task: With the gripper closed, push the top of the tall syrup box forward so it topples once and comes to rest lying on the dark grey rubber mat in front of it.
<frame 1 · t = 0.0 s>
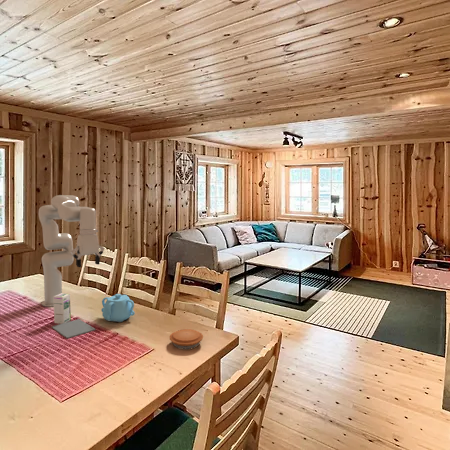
hand: (88, 265, 170), 31 cm above the table, tool pointing down, fingers open, 9 cm apart
syrup box: (62, 322, 176), on the table
mat: (73, 328, 167), on the table
decorative pot: (118, 318, 183), on the table
pie: (186, 344, 155), on the table
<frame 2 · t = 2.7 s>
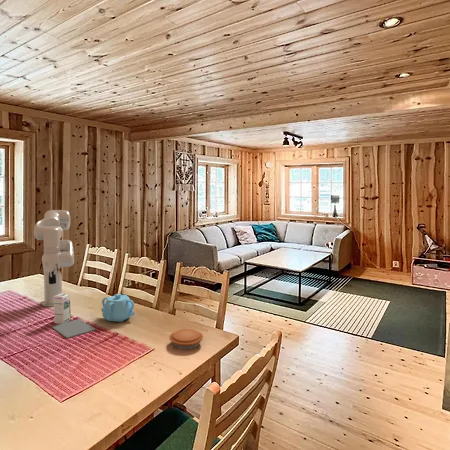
hand: (52, 283, 182), 18 cm above the table, tool pointing down, fingers closed
nothing on the table moved.
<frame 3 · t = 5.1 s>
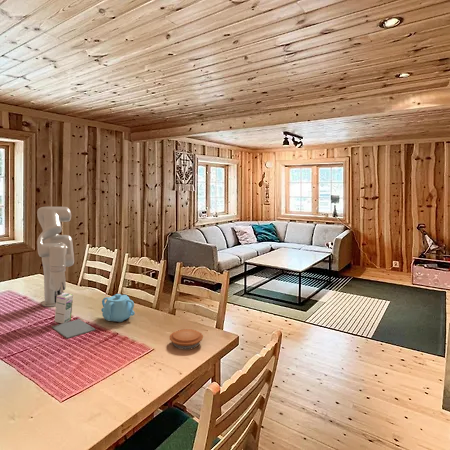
hand: (58, 302, 178), 9 cm above the table, tool pointing down, fingers closed
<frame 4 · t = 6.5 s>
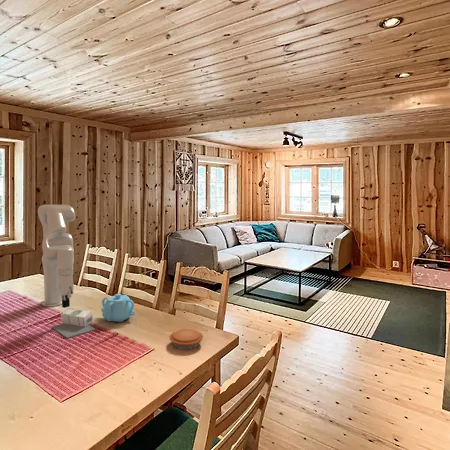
hand: (65, 306, 172), 9 cm above the table, tool pointing down, fingers closed
syrup box: (64, 315, 174), point 4 cm above the table, touching mat
everything else where it was.
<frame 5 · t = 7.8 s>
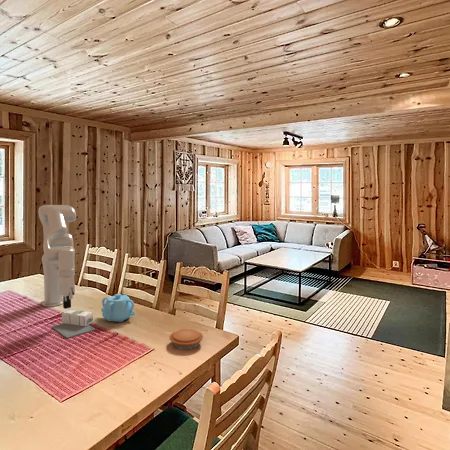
hand: (67, 307, 171), 9 cm above the table, tool pointing down, fingers closed
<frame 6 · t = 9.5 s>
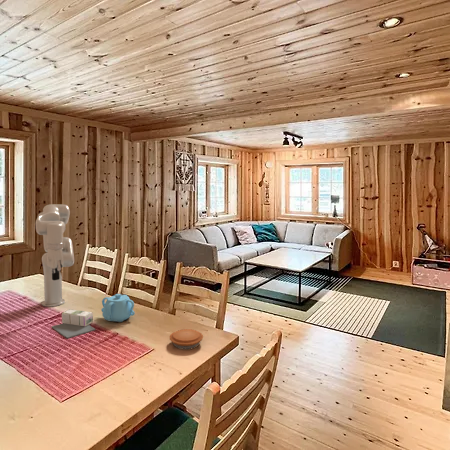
hand: (55, 279, 179), 21 cm above the table, tool pointing down, fingers closed
nothing on the table moved.
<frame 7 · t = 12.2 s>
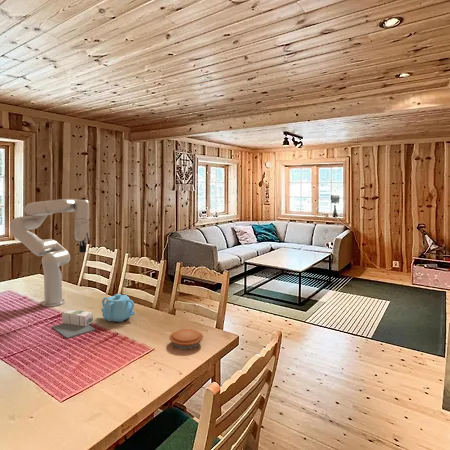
hand: (82, 252, 195), 33 cm above the table, tool pointing down, fingers closed
nothing on the table moved.
at the end: syrup box tilted 90°; syrup box inside the target area (2.9 cm from its centre), point 3.6 cm above the table; syrup box touching mat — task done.
